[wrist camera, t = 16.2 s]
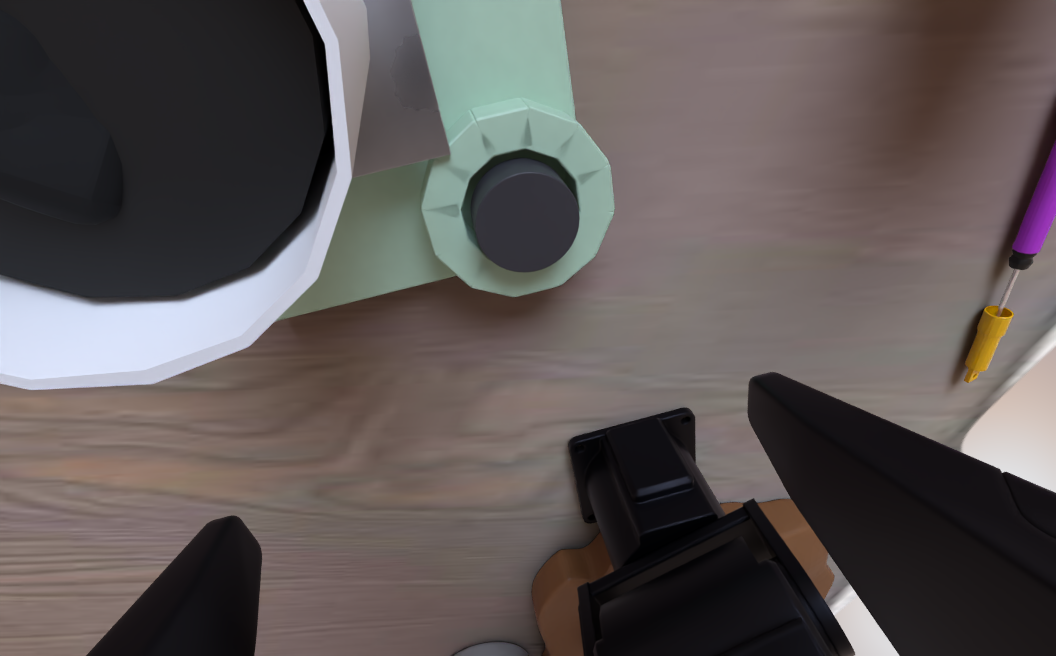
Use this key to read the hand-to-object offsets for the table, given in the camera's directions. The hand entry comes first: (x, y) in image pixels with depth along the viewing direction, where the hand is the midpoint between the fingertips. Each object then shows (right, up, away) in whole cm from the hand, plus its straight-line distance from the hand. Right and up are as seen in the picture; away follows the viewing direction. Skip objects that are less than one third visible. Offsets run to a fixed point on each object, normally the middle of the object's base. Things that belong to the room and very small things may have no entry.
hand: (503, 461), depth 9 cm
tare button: (0, +6, +8) cm, 10 cm away
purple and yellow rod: (+24, +7, +17) cm, 30 cm away
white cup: (-6, +10, +4) cm, 12 cm away
